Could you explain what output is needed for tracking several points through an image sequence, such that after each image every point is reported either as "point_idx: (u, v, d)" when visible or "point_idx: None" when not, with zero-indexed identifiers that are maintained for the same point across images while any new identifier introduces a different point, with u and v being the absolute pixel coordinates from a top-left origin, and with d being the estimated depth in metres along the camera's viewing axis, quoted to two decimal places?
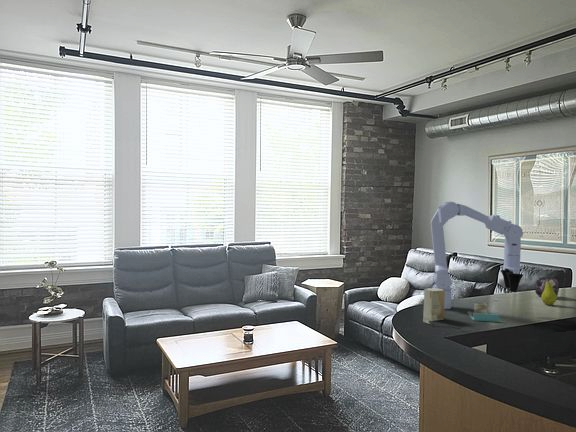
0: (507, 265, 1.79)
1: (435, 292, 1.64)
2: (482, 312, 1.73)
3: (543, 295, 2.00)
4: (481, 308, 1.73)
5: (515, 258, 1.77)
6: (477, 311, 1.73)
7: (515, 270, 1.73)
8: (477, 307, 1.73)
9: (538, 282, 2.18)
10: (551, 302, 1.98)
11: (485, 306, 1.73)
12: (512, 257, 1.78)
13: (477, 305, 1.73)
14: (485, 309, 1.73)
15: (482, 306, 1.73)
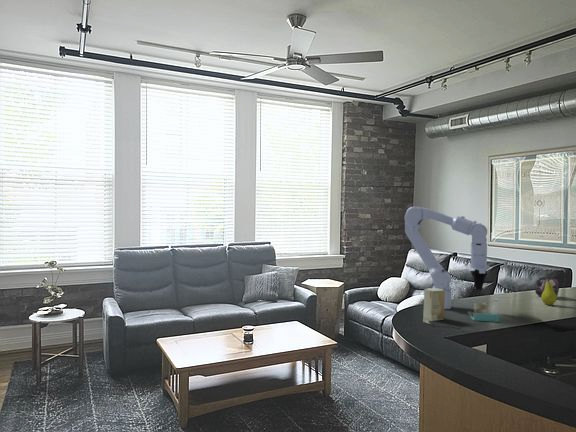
0: (474, 265, 1.79)
1: (435, 292, 1.64)
2: (482, 312, 1.73)
3: (543, 295, 2.00)
4: (481, 308, 1.73)
5: (481, 258, 1.77)
6: (477, 311, 1.73)
7: (481, 270, 1.73)
8: (477, 307, 1.73)
9: (538, 282, 2.18)
10: (551, 302, 1.98)
11: (485, 306, 1.73)
12: (478, 257, 1.78)
13: (477, 305, 1.73)
14: (485, 309, 1.73)
15: (482, 306, 1.73)
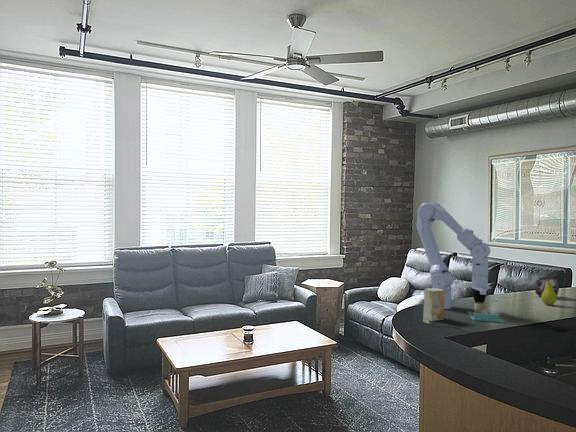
0: (475, 285, 1.76)
1: (435, 292, 1.64)
2: (482, 312, 1.73)
3: (543, 295, 2.00)
4: (481, 308, 1.73)
5: (482, 278, 1.74)
6: (477, 311, 1.73)
7: (482, 291, 1.70)
8: (477, 307, 1.73)
9: (538, 282, 2.18)
10: (551, 302, 1.98)
11: (485, 306, 1.73)
12: (479, 277, 1.75)
13: (477, 305, 1.73)
14: (485, 309, 1.73)
15: (482, 306, 1.73)
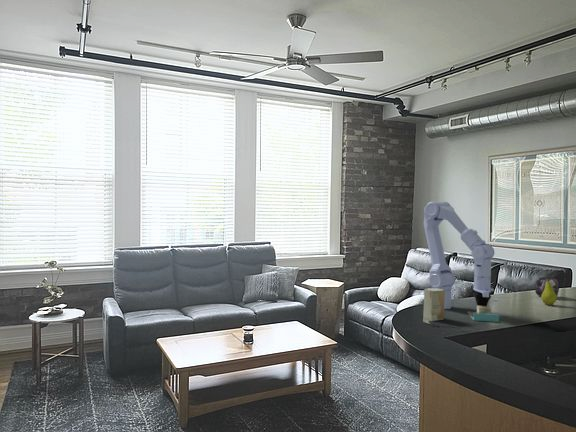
0: (477, 287, 1.71)
1: (435, 292, 1.64)
2: None
3: (543, 295, 2.00)
4: (484, 311, 1.68)
5: (485, 280, 1.70)
6: None
7: (484, 293, 1.66)
8: (480, 310, 1.68)
9: (538, 282, 2.18)
10: (551, 302, 1.98)
11: (489, 309, 1.67)
12: (482, 279, 1.70)
13: (480, 308, 1.68)
14: (489, 312, 1.67)
15: (486, 309, 1.67)
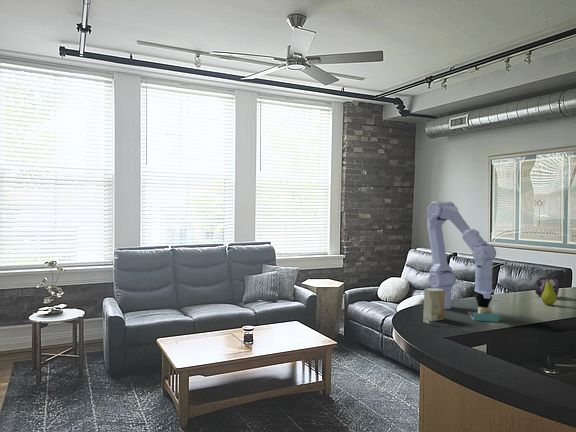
0: (478, 289, 1.69)
1: (435, 292, 1.64)
2: None
3: (543, 295, 2.00)
4: (485, 312, 1.65)
5: (486, 281, 1.67)
6: None
7: (486, 295, 1.63)
8: (482, 312, 1.66)
9: (538, 282, 2.18)
10: (551, 302, 1.98)
11: (490, 311, 1.65)
12: (483, 280, 1.68)
13: (482, 310, 1.66)
14: None
15: (487, 311, 1.65)
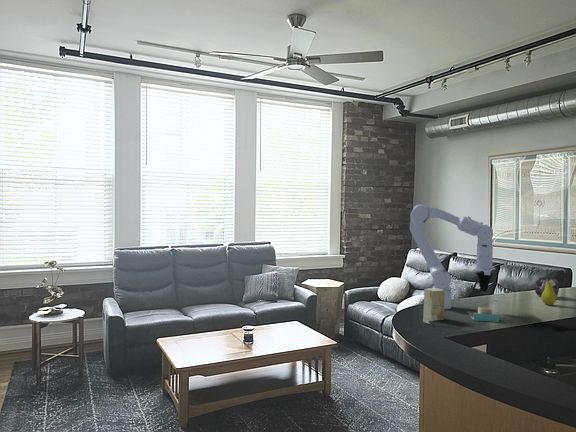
0: (479, 266, 1.78)
1: (435, 292, 1.64)
2: None
3: (543, 295, 2.00)
4: (485, 312, 1.65)
5: (487, 259, 1.77)
6: None
7: (486, 271, 1.73)
8: (482, 312, 1.66)
9: (538, 282, 2.18)
10: (551, 302, 1.98)
11: (490, 311, 1.65)
12: (484, 258, 1.77)
13: (482, 310, 1.66)
14: None
15: (487, 311, 1.65)
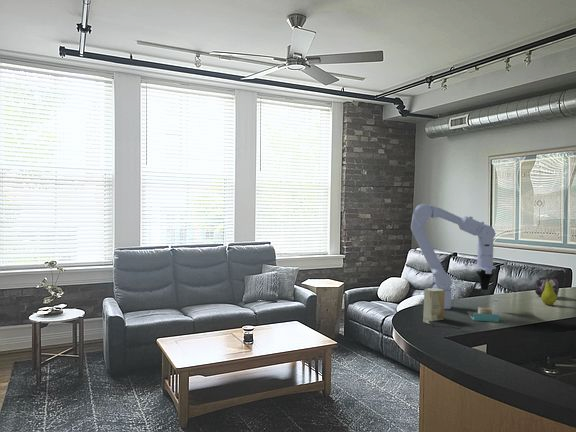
0: (480, 265, 1.81)
1: (435, 292, 1.64)
2: None
3: (543, 295, 2.00)
4: (485, 312, 1.65)
5: (488, 258, 1.80)
6: None
7: (487, 270, 1.76)
8: (482, 312, 1.66)
9: (538, 282, 2.18)
10: (551, 302, 1.98)
11: (490, 311, 1.65)
12: (485, 257, 1.80)
13: (482, 310, 1.66)
14: None
15: (487, 311, 1.65)
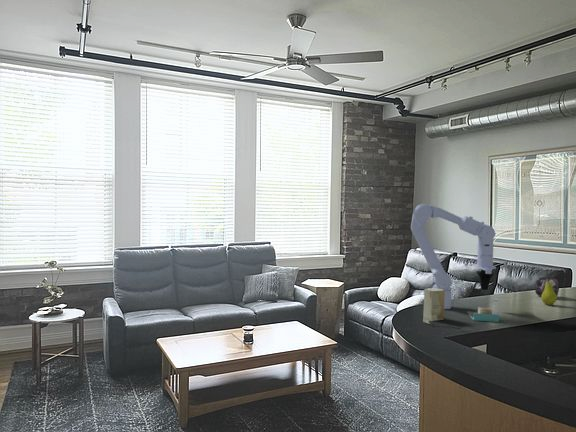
0: (480, 265, 1.81)
1: (435, 292, 1.64)
2: None
3: (543, 295, 2.00)
4: (485, 312, 1.65)
5: (488, 258, 1.80)
6: None
7: (487, 270, 1.76)
8: (482, 312, 1.66)
9: (538, 282, 2.18)
10: (551, 302, 1.98)
11: (490, 311, 1.65)
12: (485, 257, 1.80)
13: (482, 310, 1.66)
14: None
15: (487, 311, 1.65)
